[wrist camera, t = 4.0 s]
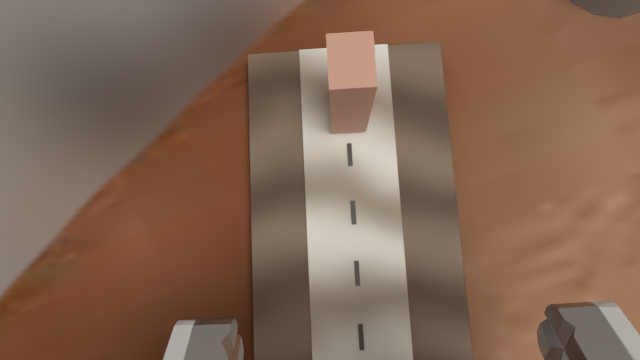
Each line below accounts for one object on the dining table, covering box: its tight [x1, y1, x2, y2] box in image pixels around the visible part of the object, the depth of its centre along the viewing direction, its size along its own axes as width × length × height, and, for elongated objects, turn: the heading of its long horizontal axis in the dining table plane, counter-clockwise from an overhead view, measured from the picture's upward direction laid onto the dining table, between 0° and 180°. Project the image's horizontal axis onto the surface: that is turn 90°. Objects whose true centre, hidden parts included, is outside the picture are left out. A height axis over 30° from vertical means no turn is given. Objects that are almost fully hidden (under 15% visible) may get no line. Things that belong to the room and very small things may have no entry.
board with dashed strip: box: [248, 42, 473, 360], centre depth 28 cm, size 22×14×2 cm, turn 3°
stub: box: [326, 31, 377, 134], centre depth 24 cm, size 3×2×8 cm
